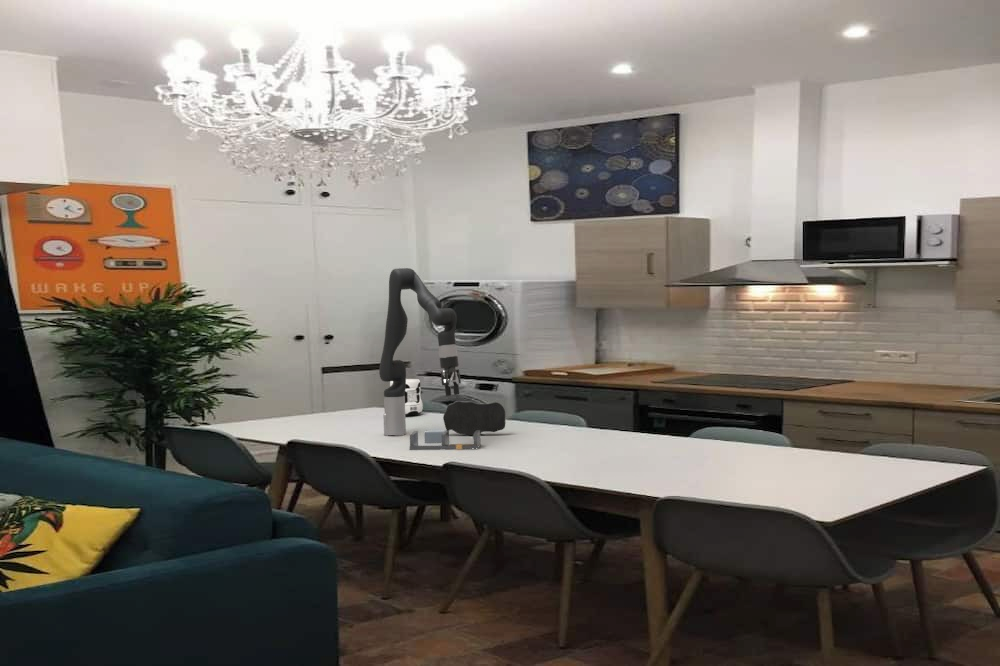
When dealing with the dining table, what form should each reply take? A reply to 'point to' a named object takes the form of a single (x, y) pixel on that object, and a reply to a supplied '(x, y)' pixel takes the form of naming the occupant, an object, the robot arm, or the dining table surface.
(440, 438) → the tall pale blue prism
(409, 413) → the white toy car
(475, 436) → the rack
